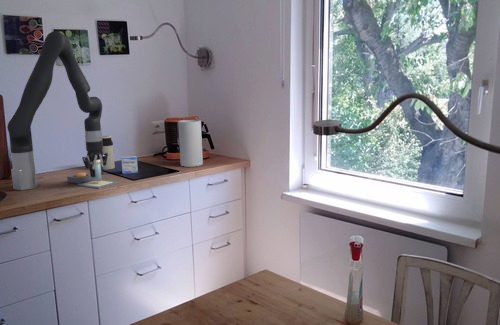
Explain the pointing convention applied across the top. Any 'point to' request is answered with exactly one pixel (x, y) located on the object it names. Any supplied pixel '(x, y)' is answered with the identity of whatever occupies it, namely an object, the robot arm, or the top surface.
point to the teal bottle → (97, 171)
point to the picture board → (97, 184)
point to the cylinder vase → (190, 143)
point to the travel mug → (108, 149)
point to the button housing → (79, 179)
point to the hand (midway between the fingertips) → (97, 175)
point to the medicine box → (129, 165)
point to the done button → (80, 174)
